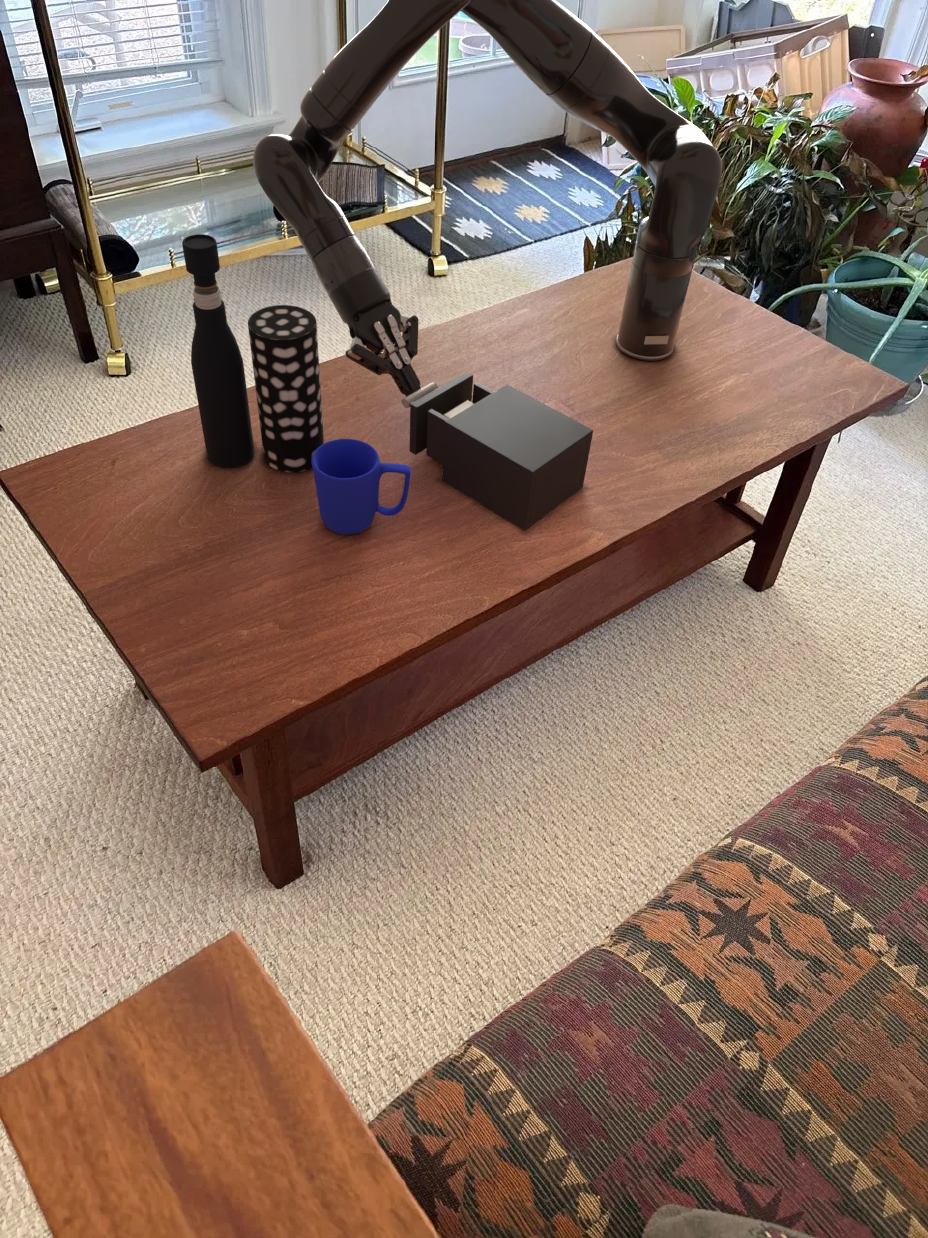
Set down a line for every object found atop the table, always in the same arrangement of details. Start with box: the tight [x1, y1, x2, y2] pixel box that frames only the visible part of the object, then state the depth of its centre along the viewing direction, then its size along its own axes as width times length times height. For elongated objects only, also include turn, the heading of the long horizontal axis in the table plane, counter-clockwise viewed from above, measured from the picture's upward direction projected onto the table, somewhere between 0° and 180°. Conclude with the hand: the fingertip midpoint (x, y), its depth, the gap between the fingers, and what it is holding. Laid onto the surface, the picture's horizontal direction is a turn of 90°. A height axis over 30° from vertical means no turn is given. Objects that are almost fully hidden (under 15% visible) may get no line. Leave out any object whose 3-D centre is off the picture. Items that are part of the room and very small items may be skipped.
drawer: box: [401, 371, 495, 466], centre depth 130 cm, size 18×11×8 cm, turn 48°
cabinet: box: [441, 383, 594, 532], centre depth 126 cm, size 15×13×10 cm
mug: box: [311, 438, 412, 536], centre depth 119 cm, size 8×12×10 cm
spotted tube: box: [247, 304, 325, 473], centre depth 124 cm, size 8×8×20 cm
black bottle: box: [181, 233, 256, 469], centre depth 119 cm, size 6×6×30 cm
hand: (414, 393), depth 133 cm, fingers closed
